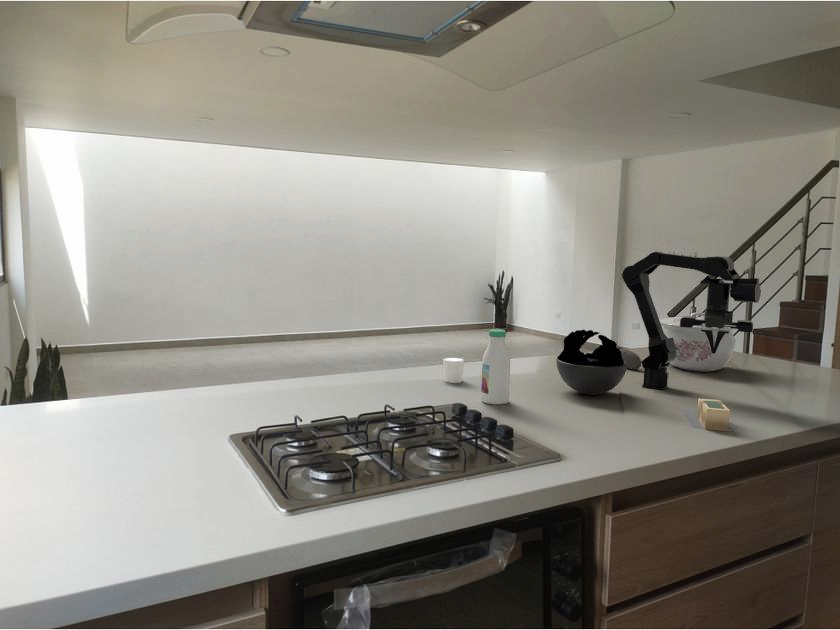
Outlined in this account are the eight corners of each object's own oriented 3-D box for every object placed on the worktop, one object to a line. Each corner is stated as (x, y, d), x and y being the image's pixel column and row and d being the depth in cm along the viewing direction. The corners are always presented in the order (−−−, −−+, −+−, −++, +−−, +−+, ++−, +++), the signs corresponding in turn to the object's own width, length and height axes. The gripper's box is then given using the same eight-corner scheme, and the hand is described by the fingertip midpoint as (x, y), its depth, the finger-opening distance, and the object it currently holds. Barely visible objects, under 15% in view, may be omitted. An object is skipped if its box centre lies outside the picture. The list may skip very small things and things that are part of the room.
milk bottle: (511, 399, 164) (514, 329, 162) (506, 406, 157) (508, 332, 155) (484, 396, 167) (486, 327, 165) (478, 403, 160) (480, 331, 157)
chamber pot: (753, 377, 201) (758, 317, 198) (673, 375, 201) (677, 315, 199) (713, 361, 228) (718, 308, 226) (643, 359, 229) (646, 307, 226)
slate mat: (681, 410, 157) (681, 409, 157) (722, 413, 154) (722, 412, 154) (693, 429, 140) (693, 427, 140) (739, 433, 138) (739, 431, 138)
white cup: (439, 381, 184) (439, 360, 183) (446, 377, 191) (447, 356, 190) (460, 384, 182) (460, 362, 181) (466, 379, 188) (467, 358, 187)
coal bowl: (558, 383, 185) (561, 324, 183) (625, 389, 179) (629, 328, 177) (550, 398, 167) (553, 333, 164) (625, 406, 160) (629, 338, 158)
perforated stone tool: (645, 371, 207) (646, 352, 206) (634, 372, 205) (635, 352, 204) (615, 363, 221) (616, 345, 220) (604, 364, 218) (605, 345, 218)
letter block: (698, 398, 148) (706, 408, 139) (720, 399, 147) (729, 410, 137) (696, 417, 149) (705, 429, 139) (718, 419, 148) (728, 431, 138)
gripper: (679, 300, 166) (675, 354, 168) (754, 304, 157) (749, 361, 159) (683, 297, 176) (680, 348, 178) (755, 301, 167) (750, 355, 169)
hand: (713, 353), depth 170 cm, fingers closed
